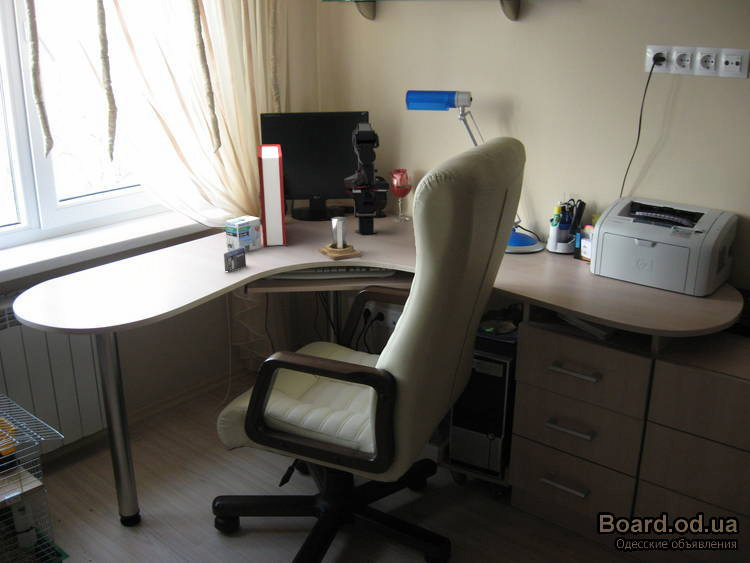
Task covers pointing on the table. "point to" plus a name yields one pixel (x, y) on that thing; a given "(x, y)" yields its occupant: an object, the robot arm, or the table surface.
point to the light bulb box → (243, 233)
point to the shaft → (339, 233)
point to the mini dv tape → (234, 259)
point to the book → (272, 194)
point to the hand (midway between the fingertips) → (367, 212)
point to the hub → (340, 252)
